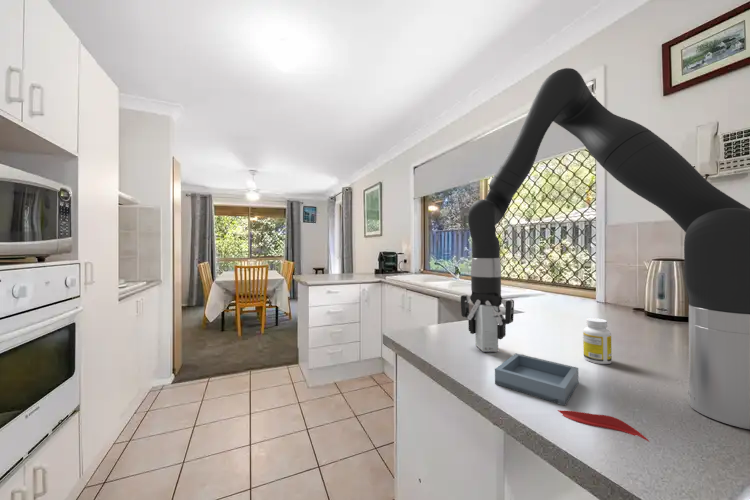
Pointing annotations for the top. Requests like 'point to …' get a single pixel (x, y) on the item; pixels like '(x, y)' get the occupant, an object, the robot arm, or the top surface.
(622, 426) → the cayenne pepper
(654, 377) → the top surface
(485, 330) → the skincare box
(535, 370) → the tray
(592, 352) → the supplement bottle
